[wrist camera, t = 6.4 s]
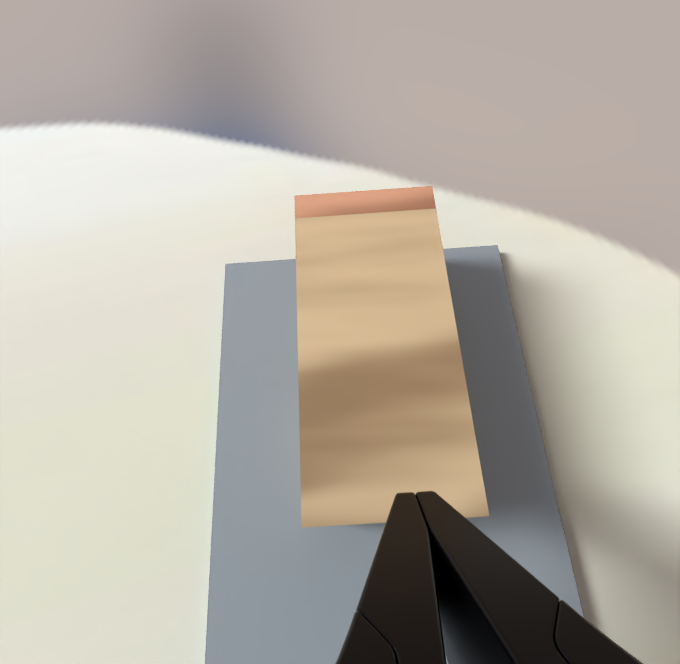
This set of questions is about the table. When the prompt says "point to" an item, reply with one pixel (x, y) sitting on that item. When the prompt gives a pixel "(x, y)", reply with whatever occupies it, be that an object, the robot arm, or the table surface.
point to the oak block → (378, 360)
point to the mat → (284, 470)
